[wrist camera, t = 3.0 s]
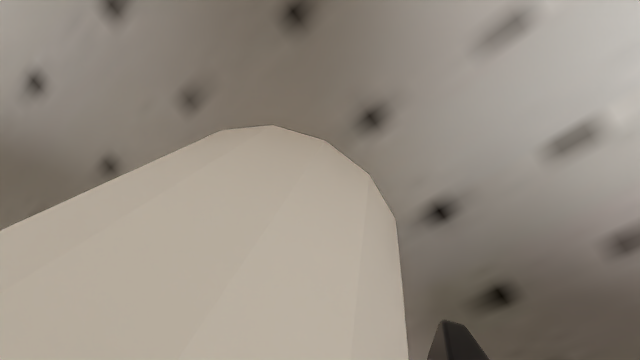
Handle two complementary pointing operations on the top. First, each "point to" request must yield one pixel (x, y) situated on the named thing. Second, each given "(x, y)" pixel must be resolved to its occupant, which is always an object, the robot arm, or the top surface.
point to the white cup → (211, 260)
